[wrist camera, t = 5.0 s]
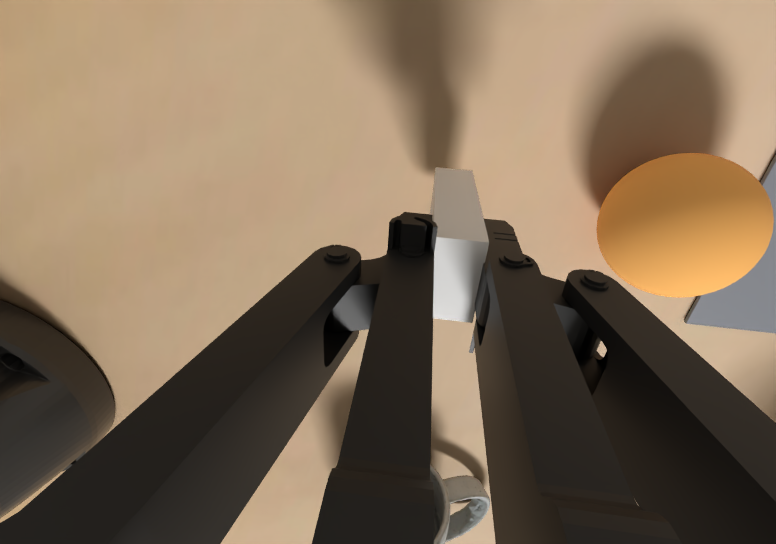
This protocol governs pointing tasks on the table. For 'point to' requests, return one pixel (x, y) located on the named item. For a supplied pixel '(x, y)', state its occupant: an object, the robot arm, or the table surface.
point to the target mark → (745, 288)
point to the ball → (685, 225)
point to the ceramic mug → (450, 493)
